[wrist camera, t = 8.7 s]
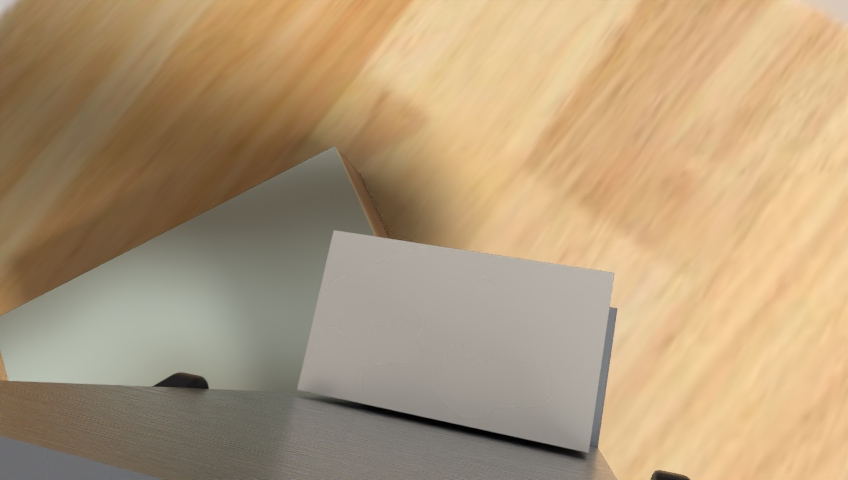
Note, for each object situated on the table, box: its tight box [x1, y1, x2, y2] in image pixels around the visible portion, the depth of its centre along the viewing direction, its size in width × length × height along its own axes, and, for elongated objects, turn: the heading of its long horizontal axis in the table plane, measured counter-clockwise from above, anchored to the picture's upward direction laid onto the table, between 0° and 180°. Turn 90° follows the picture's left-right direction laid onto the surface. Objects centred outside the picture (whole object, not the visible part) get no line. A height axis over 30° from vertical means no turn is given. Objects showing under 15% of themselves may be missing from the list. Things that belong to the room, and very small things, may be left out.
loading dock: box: [0, 146, 389, 393], centre depth 22 cm, size 14×13×3 cm
